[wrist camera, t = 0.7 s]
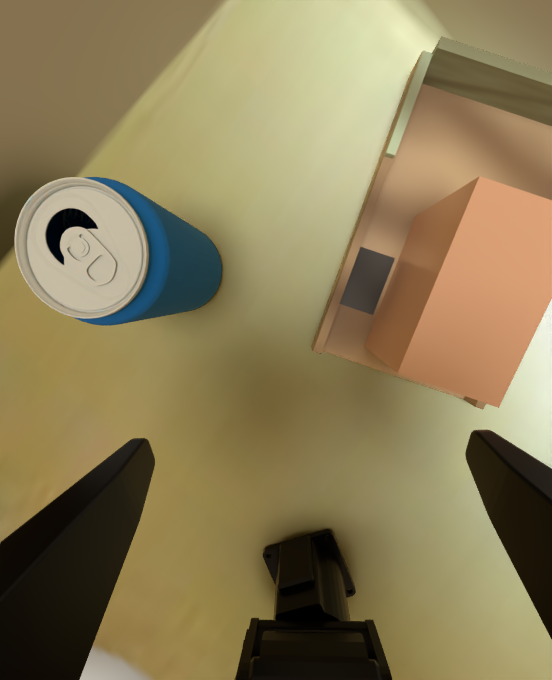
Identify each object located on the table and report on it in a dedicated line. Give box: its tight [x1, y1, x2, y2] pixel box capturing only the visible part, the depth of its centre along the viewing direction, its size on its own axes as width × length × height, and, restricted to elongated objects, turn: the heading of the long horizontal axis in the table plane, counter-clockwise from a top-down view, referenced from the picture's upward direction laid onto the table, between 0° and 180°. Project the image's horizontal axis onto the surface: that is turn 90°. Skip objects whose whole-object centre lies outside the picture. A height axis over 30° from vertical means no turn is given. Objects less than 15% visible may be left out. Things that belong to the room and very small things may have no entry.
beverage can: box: [15, 177, 222, 325], centre depth 19 cm, size 6×6×12 cm
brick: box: [365, 176, 552, 408], centre depth 19 cm, size 10×6×8 cm, turn 161°
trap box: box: [312, 37, 552, 409], centre depth 21 cm, size 20×13×4 cm, turn 161°
